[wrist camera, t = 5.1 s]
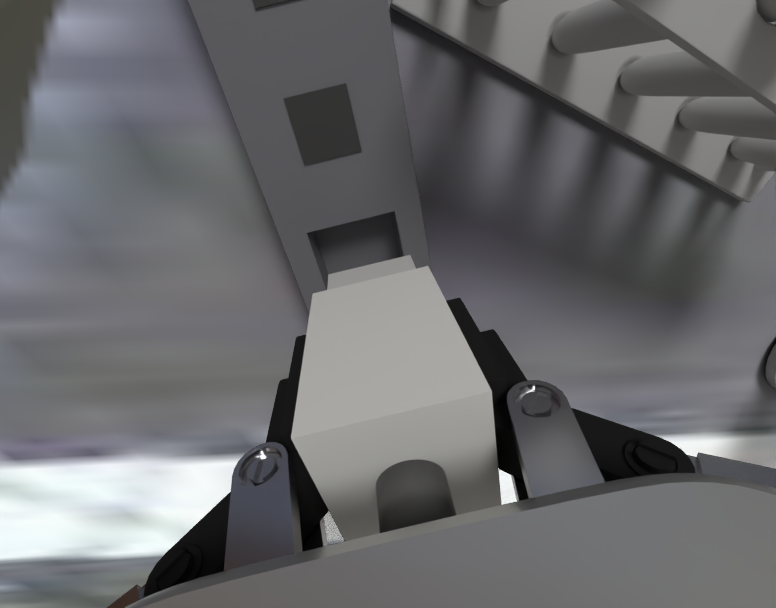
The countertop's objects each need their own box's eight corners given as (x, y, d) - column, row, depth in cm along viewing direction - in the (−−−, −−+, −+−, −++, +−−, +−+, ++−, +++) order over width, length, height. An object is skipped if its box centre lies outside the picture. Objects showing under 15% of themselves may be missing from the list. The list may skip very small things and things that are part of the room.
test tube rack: (795, 131, 22) (1289, 169, 11) (737, 200, 24) (1106, 296, 12) (429, -121, 15) (758, -862, 3) (389, 7, 17) (508, -186, 5)
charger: (415, 240, 14) (525, 457, 6) (431, 331, 17) (528, 584, 8) (316, 263, 14) (278, 515, 6) (346, 351, 17) (351, 625, 8)
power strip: (342, -181, 13) (344, -276, 10) (429, 308, 25) (444, 342, 21) (159, -137, 13) (99, -216, 10) (330, 332, 25) (329, 371, 21)
